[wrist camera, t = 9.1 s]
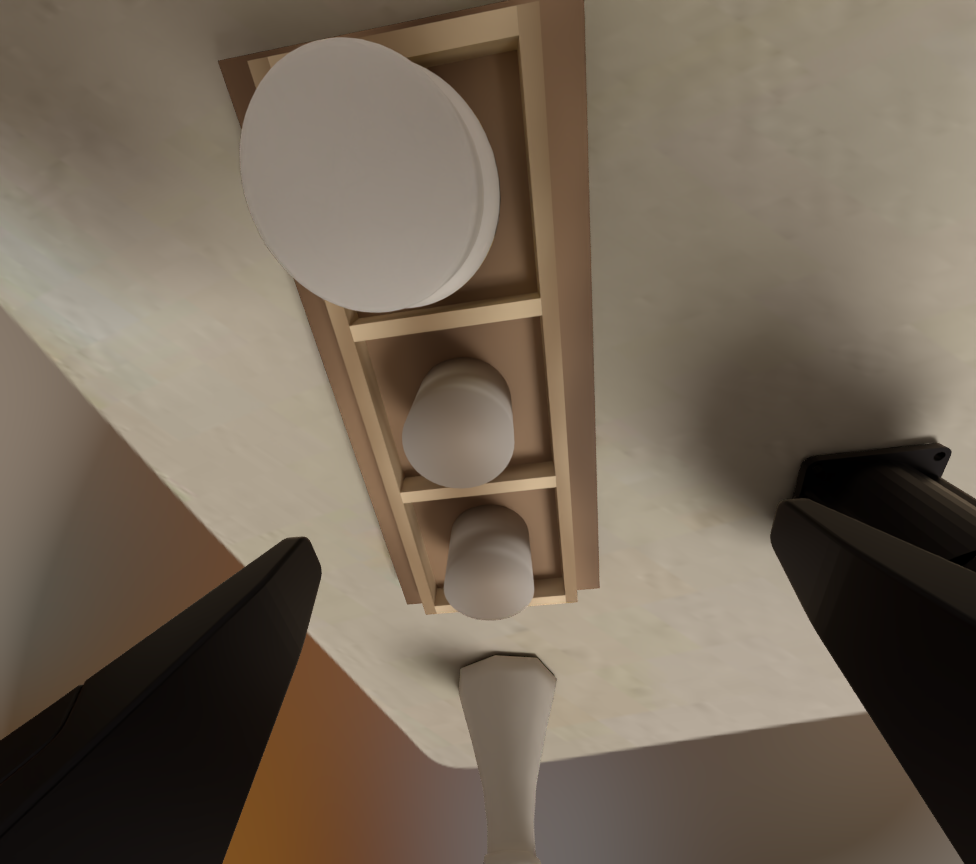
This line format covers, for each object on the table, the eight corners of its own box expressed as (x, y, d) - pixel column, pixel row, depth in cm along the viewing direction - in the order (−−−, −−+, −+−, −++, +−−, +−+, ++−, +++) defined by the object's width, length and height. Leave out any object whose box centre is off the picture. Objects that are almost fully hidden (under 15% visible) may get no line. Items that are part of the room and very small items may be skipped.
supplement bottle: (523, 231, 15) (550, 257, 7) (413, 298, 16) (340, 379, 8) (452, 79, 13) (390, -94, 5) (332, 169, 14) (145, 128, 7)
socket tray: (574, 7, 13) (614, -94, 9) (594, 567, 24) (615, 646, 20) (244, 74, 14) (128, 14, 10) (411, 583, 25) (394, 662, 21)
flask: (444, 658, 29) (422, 855, 20) (547, 643, 28) (571, 844, 19) (471, 714, 32) (463, 904, 24) (564, 703, 31) (591, 896, 23)
